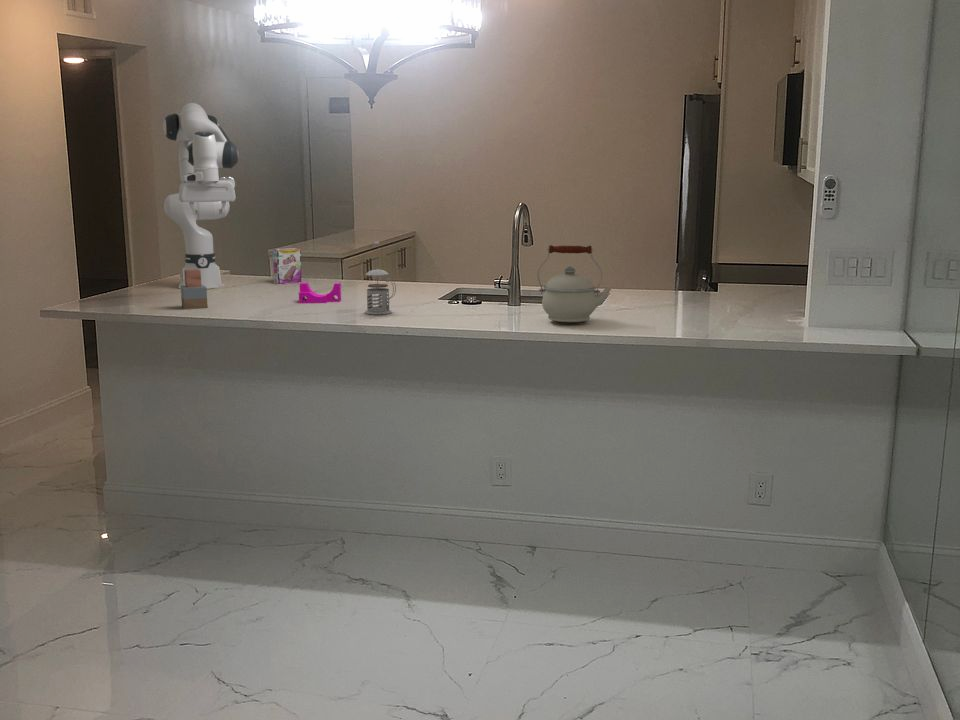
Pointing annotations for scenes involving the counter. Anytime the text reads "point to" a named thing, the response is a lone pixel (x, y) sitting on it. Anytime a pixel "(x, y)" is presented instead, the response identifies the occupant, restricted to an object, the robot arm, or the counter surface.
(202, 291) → the tower middle
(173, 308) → the counter surface
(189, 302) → the tower base
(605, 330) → the counter surface
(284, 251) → the candy bar box
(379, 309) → the french press
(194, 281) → the reddish brown cube
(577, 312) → the kettle
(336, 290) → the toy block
